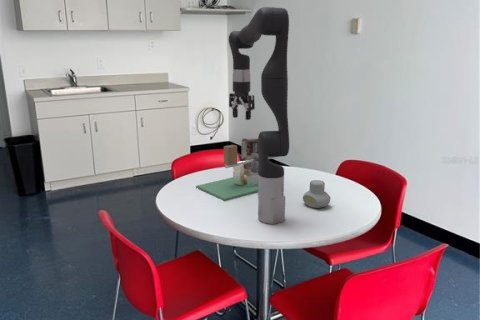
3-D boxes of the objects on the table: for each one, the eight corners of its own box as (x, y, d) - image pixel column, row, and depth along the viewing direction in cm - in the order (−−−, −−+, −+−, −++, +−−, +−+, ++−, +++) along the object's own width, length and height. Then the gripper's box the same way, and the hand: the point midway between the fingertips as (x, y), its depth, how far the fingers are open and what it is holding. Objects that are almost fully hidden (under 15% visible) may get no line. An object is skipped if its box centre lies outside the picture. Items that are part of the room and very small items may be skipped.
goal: (259, 184, 196) (259, 174, 194) (248, 187, 192) (248, 176, 190) (243, 178, 204) (243, 168, 203) (233, 181, 200) (233, 171, 199)
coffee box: (259, 168, 225) (260, 138, 221) (259, 171, 219) (259, 141, 215) (242, 168, 226) (242, 138, 222) (241, 171, 220) (241, 140, 216)
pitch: (267, 189, 192) (267, 187, 192) (224, 201, 178) (224, 198, 177) (237, 178, 209) (237, 176, 208) (196, 187, 194) (196, 185, 194)
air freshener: (299, 204, 174) (300, 180, 172) (312, 199, 179) (313, 176, 177) (320, 212, 166) (321, 187, 163) (333, 206, 171) (334, 183, 169)
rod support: (263, 183, 200) (263, 155, 197) (259, 184, 199) (260, 156, 195) (254, 180, 205) (254, 152, 202) (250, 181, 204) (251, 153, 200)
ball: (247, 174, 195) (243, 181, 194) (252, 178, 197) (248, 185, 196) (242, 172, 198) (237, 179, 197) (247, 176, 200) (242, 183, 199)
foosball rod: (280, 175, 208) (281, 138, 203) (229, 188, 189) (229, 147, 184) (273, 173, 211) (274, 136, 207) (222, 185, 193) (222, 145, 188)
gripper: (259, 80, 177) (259, 119, 181) (237, 79, 188) (237, 115, 192) (245, 81, 173) (245, 121, 177) (224, 80, 183) (224, 117, 187)
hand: (241, 118), depth 184 cm, fingers open, 8 cm apart
